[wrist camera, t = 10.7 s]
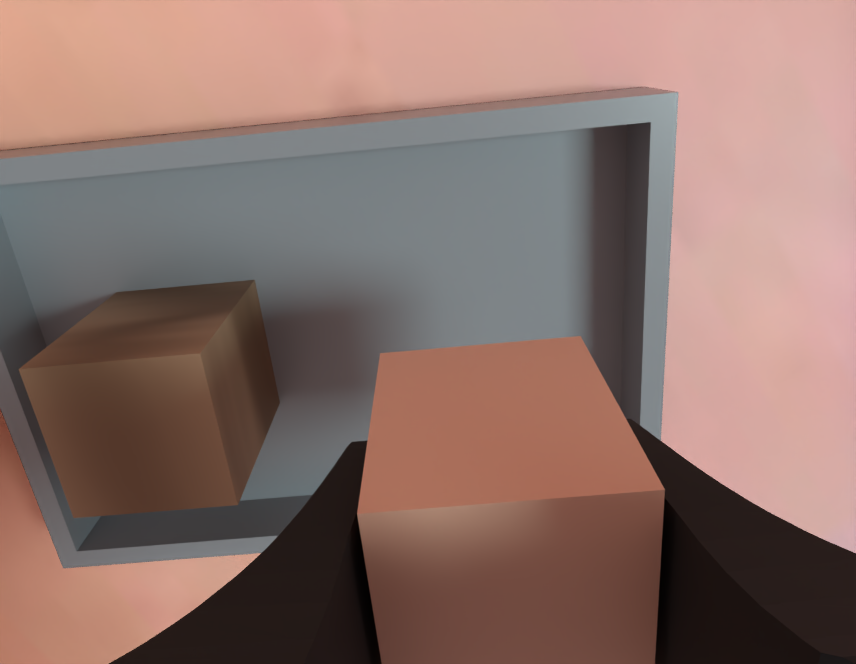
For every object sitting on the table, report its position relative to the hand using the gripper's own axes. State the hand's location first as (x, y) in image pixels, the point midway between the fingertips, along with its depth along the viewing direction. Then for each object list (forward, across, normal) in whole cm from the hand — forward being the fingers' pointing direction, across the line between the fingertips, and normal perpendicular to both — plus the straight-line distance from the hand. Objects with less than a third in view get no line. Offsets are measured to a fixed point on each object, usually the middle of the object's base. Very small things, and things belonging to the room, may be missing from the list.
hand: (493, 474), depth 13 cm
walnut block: (+8, +8, 0) cm, 11 cm away
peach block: (+2, 0, 0) cm, 2 cm away
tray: (+8, +4, 0) cm, 9 cm away
